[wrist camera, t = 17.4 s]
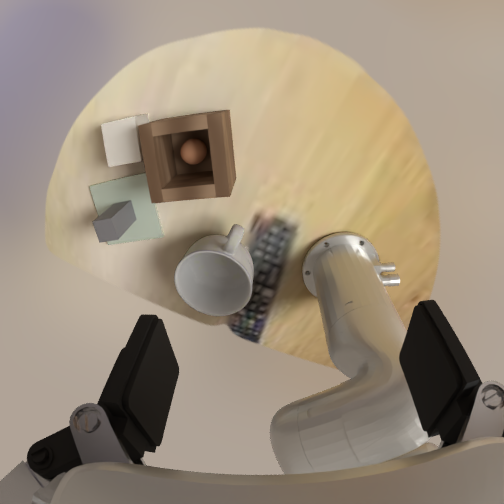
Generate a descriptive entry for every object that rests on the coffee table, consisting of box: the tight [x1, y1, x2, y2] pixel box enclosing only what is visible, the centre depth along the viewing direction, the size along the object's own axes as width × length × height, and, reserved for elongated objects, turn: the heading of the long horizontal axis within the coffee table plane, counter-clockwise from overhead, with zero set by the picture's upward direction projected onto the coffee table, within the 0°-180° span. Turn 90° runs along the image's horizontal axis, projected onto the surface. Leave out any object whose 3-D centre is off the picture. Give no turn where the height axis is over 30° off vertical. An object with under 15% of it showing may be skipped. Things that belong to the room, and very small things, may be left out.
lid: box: [90, 173, 164, 245], centre depth 41 cm, size 10×10×8 cm
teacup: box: [174, 224, 254, 316], centre depth 44 cm, size 14×11×8 cm
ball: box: [180, 139, 207, 164], centre depth 37 cm, size 3×3×3 cm
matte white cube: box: [101, 114, 149, 167], centre depth 37 cm, size 5×6×5 cm
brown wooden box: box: [138, 110, 236, 203], centre depth 36 cm, size 10×10×8 cm
